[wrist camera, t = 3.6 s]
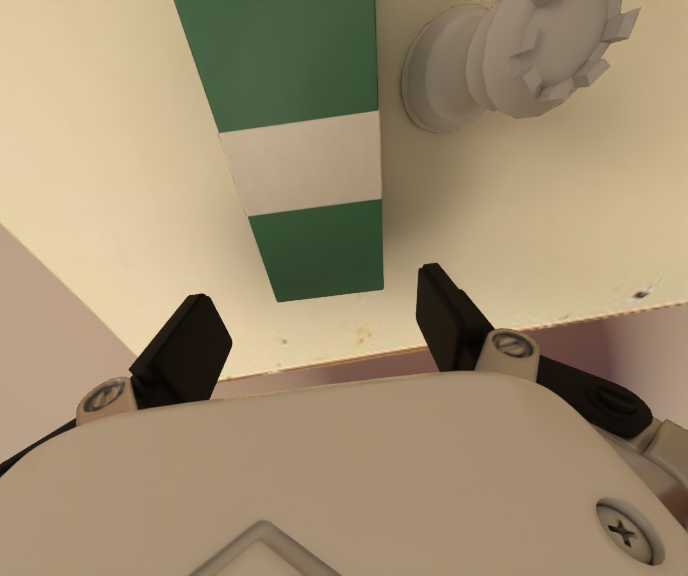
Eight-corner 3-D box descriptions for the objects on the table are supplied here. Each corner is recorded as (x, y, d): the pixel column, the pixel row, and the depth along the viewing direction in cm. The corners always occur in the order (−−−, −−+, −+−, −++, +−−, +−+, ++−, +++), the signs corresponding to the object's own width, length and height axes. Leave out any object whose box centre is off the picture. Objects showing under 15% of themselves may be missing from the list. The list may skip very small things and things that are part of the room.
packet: (373, 253, 17) (385, 290, 14) (287, 263, 17) (275, 303, 14) (355, -76, 9) (372, -208, 6) (199, -51, 10) (113, -162, 6)
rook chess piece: (410, 6, 11) (539, -177, 4) (506, 21, 11) (765, -124, 5) (390, 128, 13) (451, 135, 7) (469, 136, 14) (601, 152, 7)
